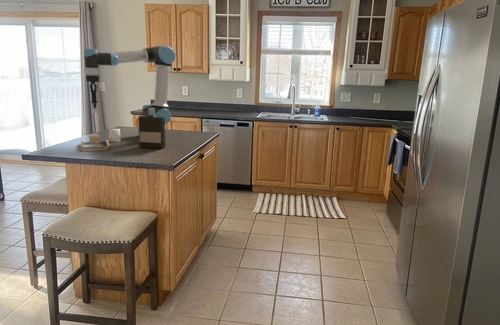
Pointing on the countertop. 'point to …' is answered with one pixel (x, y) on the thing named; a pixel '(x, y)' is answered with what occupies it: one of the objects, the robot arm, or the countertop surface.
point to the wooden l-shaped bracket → (95, 147)
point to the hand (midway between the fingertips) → (95, 113)
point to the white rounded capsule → (114, 135)
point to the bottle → (151, 130)
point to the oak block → (94, 139)
